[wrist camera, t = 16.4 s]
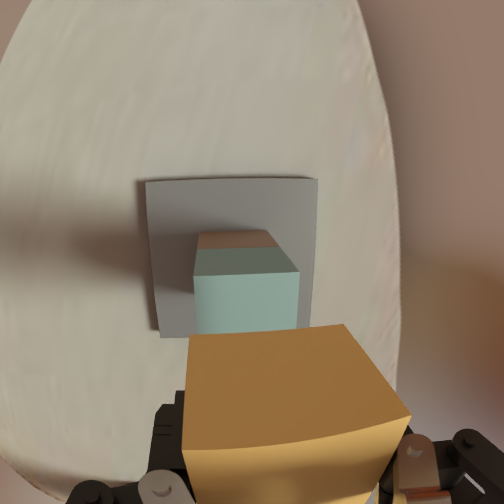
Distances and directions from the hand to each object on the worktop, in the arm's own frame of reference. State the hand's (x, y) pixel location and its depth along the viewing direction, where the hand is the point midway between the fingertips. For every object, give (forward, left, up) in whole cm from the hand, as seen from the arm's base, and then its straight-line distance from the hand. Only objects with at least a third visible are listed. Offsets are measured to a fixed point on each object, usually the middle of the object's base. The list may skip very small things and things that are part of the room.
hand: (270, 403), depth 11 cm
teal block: (0, 0, -11) cm, 11 cm away
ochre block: (0, 0, -1) cm, 1 cm away
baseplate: (0, 0, -18) cm, 18 cm away
